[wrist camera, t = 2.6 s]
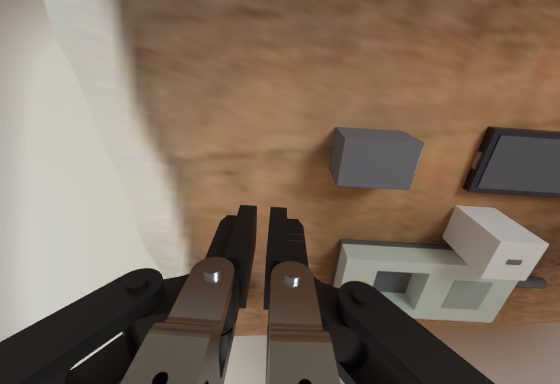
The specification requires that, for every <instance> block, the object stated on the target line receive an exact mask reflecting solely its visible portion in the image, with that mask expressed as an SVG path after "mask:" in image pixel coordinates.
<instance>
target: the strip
mask: <svg viewBox="0 0 560 384" xmlns="http://www.w3.org/2000/svg"><path fill="white" fill-rule="evenodd" d="M349 281H361V282H364V283H367V284H369V285H371V286H373V287H374V288H376V289H377V290H378V291H379V292H381V293H382V294H383V295H384V296H386V297H387V298H388V299H389V300H391V301H392V302H393V303H394V304H396V305H397V306H398V307H399V308H401V309H402V310H403V311H404V312H406V313H407V314H408V315H409V316H411V317H412V318H414V319H432V320H450V321H469V322H487V323H492V321H493V320H494V318H495V317H496V315H497V314H498V312H499V311H500V309H501V307H502V306H503V304H504V303H505V301H506V300H507V298H508V297H509V295H510V294H511V292H512V291H513V289H514V287H524V288H542V289H543V288H546V286H547V283H546V281H545V280H544V279H543V278H538V277H528V278H527V279H526V281H518V280H501V279H483V278H480V277H479V276H478V275H477V274H476V273H475V272H474V271H473V270H472V269H471V268H470V266H469V265H468V264H467V263H466V262H465V261H464V260H463V259H462V258H461V257H460V256H459V255H458V254H457V253H456V252H455V250H454V249H453V248H452V247H451V246H447V245H430V244H413V243H397V242H380V241H363V240H346V239H341V241H340V245H339V250H338V255H337V260H336V265H335V269H334V274H333V279H332V284H331V286H333V287H336V288H340V287H341V285H342V284H344V283H346V282H349Z"/></svg>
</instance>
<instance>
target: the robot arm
mask: <svg viewBox="0 0 560 384" xmlns="http://www.w3.org/2000/svg"><path fill="white" fill-rule="evenodd" d="M256 226H257V206H250V205H240V208H239V211H238V214H237V216H235V215H227V216H226V217H225V218H224V219H223V220H221V221H220V224H219V226H218V228H217V231H216V233H215V237H214V238H213V241H212V243H211V245H210V248H209V250H208V253H207V255H206V257H205V259H203V260H201V261H199V262H198V263H197V264H195V265H194V267H193V268H192V269H191V271H190V273H189V274H187V275H184V276H180V277H174V278H169V279H164V280H163V277H162V274H161V273H160V272H159V271H157V270H154V269H150V268H144V269H138V270H134V271H131V272H129V273H127V274H125V275H123V276H121V277H119V278H117V279H116V280H114V281H112V282H110V283H108V284H107V285H105V286H103V287H101V288H99V289H97V290H95V291H93V292H92V293H90V294H88V295H86V296H84V297H83V298H81V299H79V300H77V301H75V302H73V303H71V304H70V305H68V306H66V307H64V308H62V309H60V310H58V311H57V312H55V313H53V314H51V315H50V316H47V317H46V318H44V319H42V320H40V321H38V322H36V323H35V324H33V325H31V326H29V327H27V328H25V329H24V330H22V331H20V332H18V333H16V334H14V335H13V336H11V337H9V338H7V339H5V340H3V341H1V342H0V384H224V380H225V374H226V370H227V365H228V361H229V356H230V351H231V347H232V342H233V337H234V333H235V327H236V320H237V316H238V310H239V308H245V309H246V303H247V297H248V291H249V284H250V278H251V271H252V265H253V259H254V252H255V245H256ZM263 309H264V310H269V312H268V329H267V357H266V384H340V380H339V377H340V378H341V379H342V380H343V382H344V383H345V384H495V383H493V382H492V381H491V380H490V379H488V378H487V377H486V376H485V375H483V374H482V373H481V372H479V371H478V370H477V369H476V368H474V367H473V366H472V365H471V364H469V363H468V362H467V361H466V360H464V359H463V358H462V357H461V356H459V355H458V354H457V353H456V352H454V351H453V350H452V349H451V348H449V347H448V346H447V345H445V344H444V343H443V342H442V341H441V340H439V339H438V338H437V337H436V336H434V335H433V334H432V333H431V332H429V331H428V330H427V329H426V328H424V327H423V326H422V325H421V324H419V323H418V322H417V321H416V320H414V319H413V318H412V317H411V316H409V315H408V314H407V313H406V312H404V311H403V310H402V309H401V308H399V307H398V306H397V305H396V304H394V303H393V302H392V301H391V300H389V299H388V298H387V297H386V296H384V295H383V294H382V293H381V292H379V291H378V290H377V289H376V288H374V287H373V286H371V285H369V284H367V283H364V282H361V281H349V282H346V283H344V284H342V285H341V287H340V288H336V287H333V286H330V285H327V284H324V283H322V282H320V281H319V280H317V279H316V278H315V277H314V276H313V274H312V272H311V270H310V269H309V267H308V260H307V252H306V244H305V236H304V228H303V225H302V224H301V223H300V222H299V220H298V219H287V208H283V207H271V210H270V221H269V232H268V243H267V254H266V269H265V288H264V308H263ZM121 332H122V333H123V334H122V335H121V336H119V337H118V338H116V339H115V340H114V341H112V342H111V343H109V344H108V345H106V346H105V347H104V348H102V349H101V350H99V351H98V352H97V353H95V354H94V355H92V356H91V357H89V358H88V359H87V360H85V361H84V362H82V363H81V364H80V365H78V366H77V367H75V368H73V369H72V370H70V369H71V368H72V367H73V366H74V365H75V364H76V363H78V362H79V361H80V360H82V359H83V358H85V357H86V356H88V355H89V354H90V353H92V352H93V351H95V350H96V349H98V348H99V347H100V346H102V345H103V344H105V343H106V342H107V341H109V340H110V339H112V338H113V337H115V336H116V335H117V334H119V333H121Z"/></svg>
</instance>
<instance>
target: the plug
mask: <svg viewBox="0 0 560 384" xmlns="http://www.w3.org/2000/svg"><path fill="white" fill-rule="evenodd" d="M423 145H424V142H422V141H420V140H418V139H416V138H414V137H412V136H411V135H409V134H407V133H405V132H403V131H390V130H374V129H359V128H343V127H336V129H335V135H334V142H333V148H332V155H331V161H330V168H329V170H330V172H331V174H332V176H333V178H334V181H335V183H336V185H337V186H345V187H362V188H379V189H396V190H409V189H410V186H411V183H412V180H413V177H414V175H415V172H416V169H417V166H418V163H419V159H420V156H421V153H422V150H423V149H422V148H423Z"/></svg>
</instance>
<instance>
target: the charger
mask: <svg viewBox="0 0 560 384" xmlns="http://www.w3.org/2000/svg"><path fill="white" fill-rule="evenodd" d="M442 238H443V239H444V240H445V241H446V242H447V243H448V244H449V245H450V246H451V247H452V248H453V249H454V250H455V252H456V253H457V254H458V255H459V256H460V257H461V258H462V259H463V260H464V261H465V262H466V263H467V264H468V265H469V266H470V268H471V269H472V270H473V271H474V272H475V273H476V274H477V275H478V276H479V277H480V278H483V279H501V280H518V281H526V279H527V278H528V276H529V275H530V273H531V272H532V270H533V269H534V267H535V266H536V264H537V263H538V261H539V260H540V258H541V257H542V255H543V254H544V252H545V251H546V249H547V248H548V246H549V245H550V244H548V243H547V242H545V241H544V240H542V239H540V238H539V237H537V236H536V235H534V234H533V233H531V232H530V231H528V230H527V229H525V228H524V227H522V226H521V225H519V224H518V223H516V222H515V221H513V220H512V219H510V218H509V217H507V216H506V215H504V214H503V213H501V212H500V211H498V210H497V209H495V208H488V207H472V206H455V209H454V211H453V213H452V216H451V218H450V220H449V223H448V225H447V227H446V230H445V232H444V234H443V237H442Z"/></svg>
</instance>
